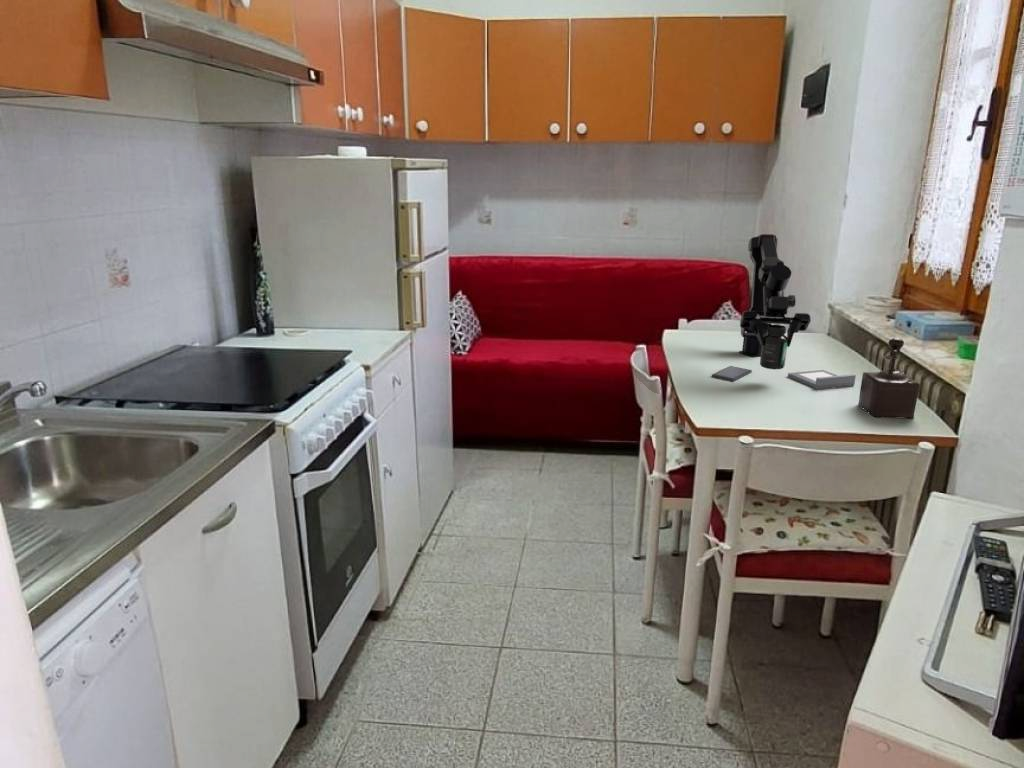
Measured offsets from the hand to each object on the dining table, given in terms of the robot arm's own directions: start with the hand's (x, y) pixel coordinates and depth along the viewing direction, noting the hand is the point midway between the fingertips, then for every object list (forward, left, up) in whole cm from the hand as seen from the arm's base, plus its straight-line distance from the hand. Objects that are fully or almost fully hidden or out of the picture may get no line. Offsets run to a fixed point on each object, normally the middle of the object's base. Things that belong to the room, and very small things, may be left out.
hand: (775, 345), depth 202 cm
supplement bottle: (-1, +1, -7) cm, 7 cm away
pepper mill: (+28, +11, -12) cm, 32 cm away
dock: (+4, +17, -12) cm, 21 cm away
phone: (-13, -2, -12) cm, 18 cm away
